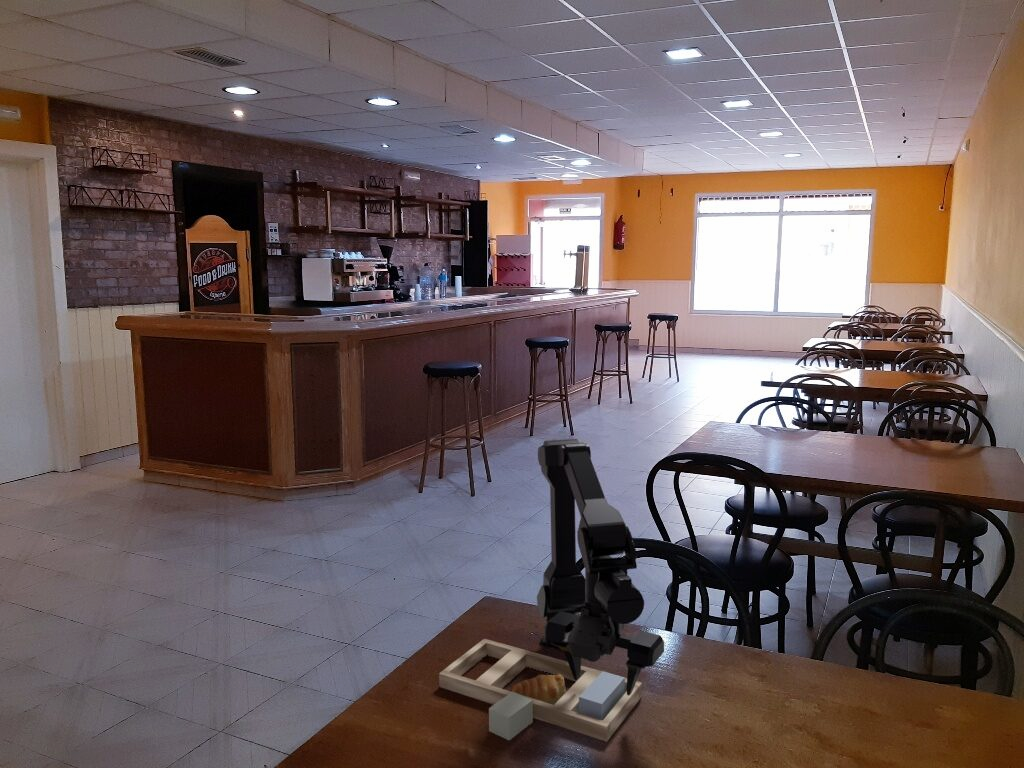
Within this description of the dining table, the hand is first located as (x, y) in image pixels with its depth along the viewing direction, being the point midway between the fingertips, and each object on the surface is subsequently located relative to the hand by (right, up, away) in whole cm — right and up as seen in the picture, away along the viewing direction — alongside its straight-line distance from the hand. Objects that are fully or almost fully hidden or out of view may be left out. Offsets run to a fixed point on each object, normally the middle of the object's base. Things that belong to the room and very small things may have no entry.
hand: (602, 686), depth 127 cm
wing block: (0, -5, +1) cm, 5 cm away
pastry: (-10, -4, +5) cm, 11 cm away
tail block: (-15, -5, -3) cm, 16 cm away
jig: (-10, -3, +7) cm, 13 cm away
